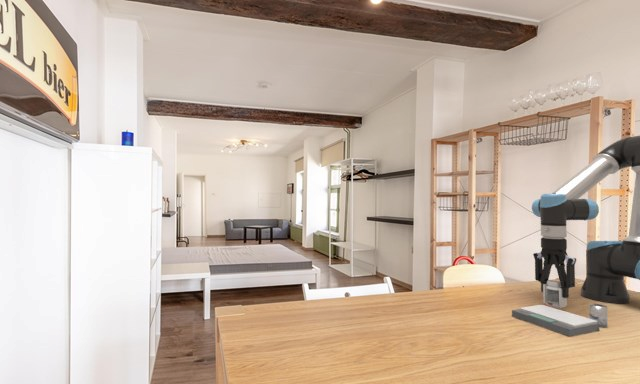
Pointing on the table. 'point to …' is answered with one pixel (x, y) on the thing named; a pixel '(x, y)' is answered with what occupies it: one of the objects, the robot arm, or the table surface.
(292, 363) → the table surface
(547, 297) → the pill bottle
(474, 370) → the table surface
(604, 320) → the cylinder
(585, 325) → the kitchen scale
